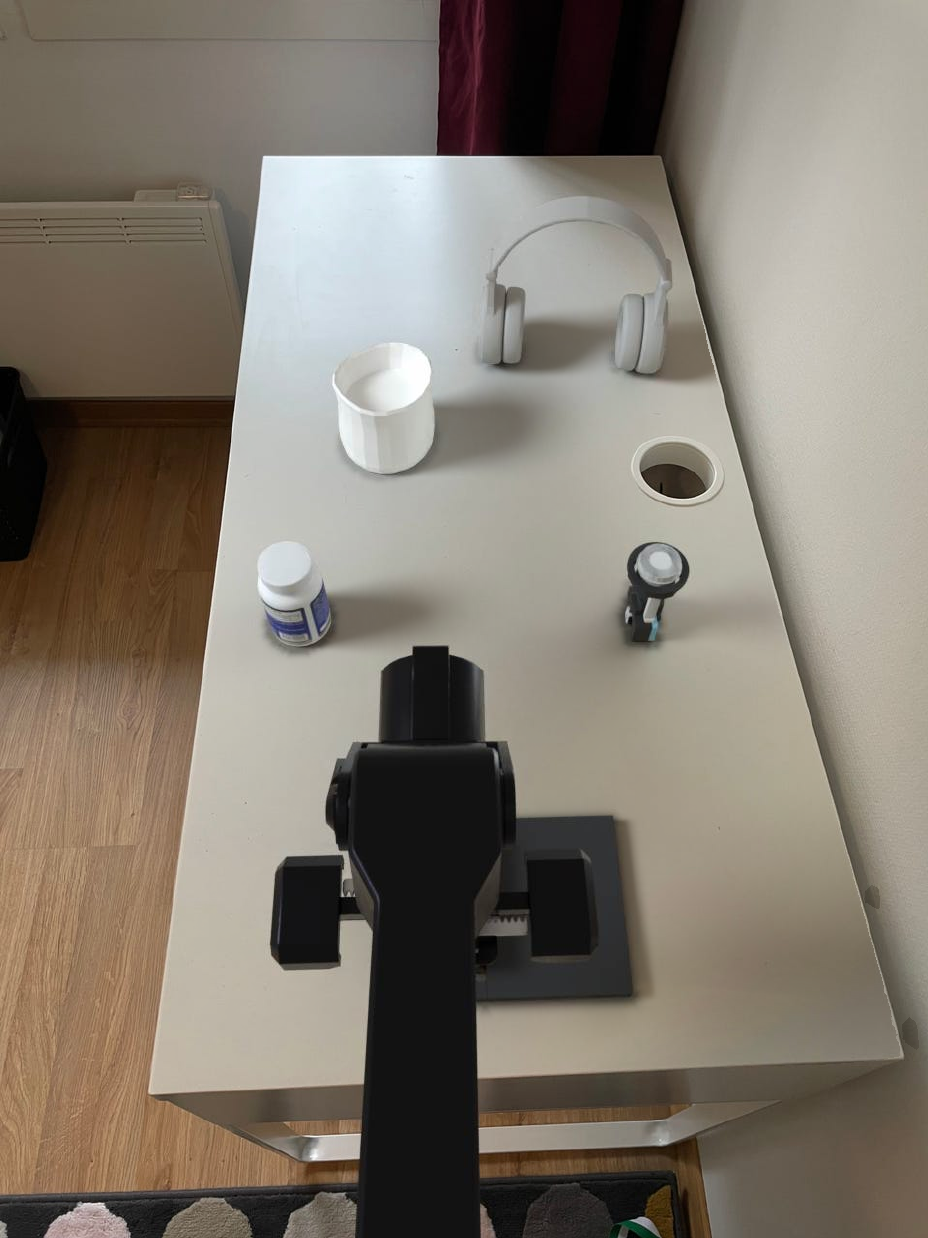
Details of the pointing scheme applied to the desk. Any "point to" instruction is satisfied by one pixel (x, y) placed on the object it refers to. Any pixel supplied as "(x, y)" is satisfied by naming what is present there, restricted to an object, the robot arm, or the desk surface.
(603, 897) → the base pad
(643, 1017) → the desk surface
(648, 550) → the push button
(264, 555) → the pill bottle
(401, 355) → the cup
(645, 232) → the headphones
